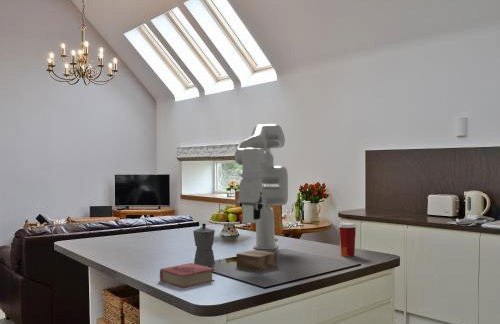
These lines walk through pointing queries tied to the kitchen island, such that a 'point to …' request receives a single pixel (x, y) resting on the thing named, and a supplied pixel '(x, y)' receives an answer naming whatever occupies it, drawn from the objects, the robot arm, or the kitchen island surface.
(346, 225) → the coffee cup
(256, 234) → the robot arm
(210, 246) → the coffeepot
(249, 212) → the tea tin
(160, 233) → the kitchen island surface
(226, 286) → the kitchen island surface
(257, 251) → the walnut box
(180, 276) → the book
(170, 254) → the kitchen island surface
